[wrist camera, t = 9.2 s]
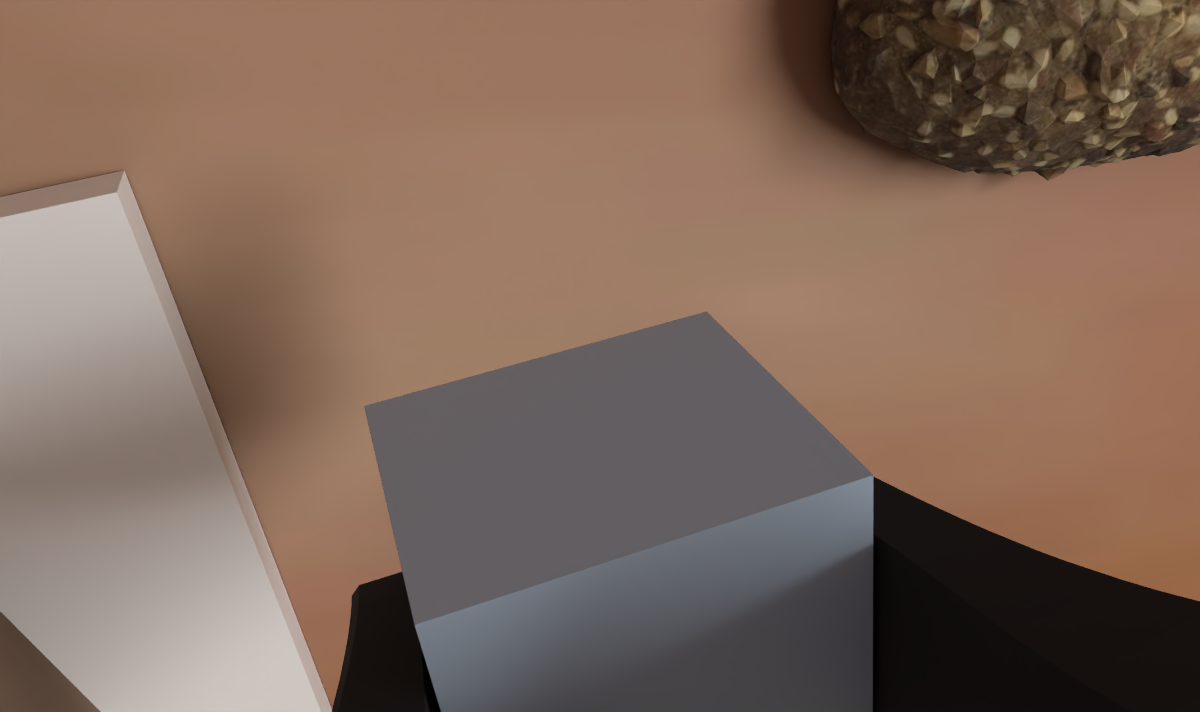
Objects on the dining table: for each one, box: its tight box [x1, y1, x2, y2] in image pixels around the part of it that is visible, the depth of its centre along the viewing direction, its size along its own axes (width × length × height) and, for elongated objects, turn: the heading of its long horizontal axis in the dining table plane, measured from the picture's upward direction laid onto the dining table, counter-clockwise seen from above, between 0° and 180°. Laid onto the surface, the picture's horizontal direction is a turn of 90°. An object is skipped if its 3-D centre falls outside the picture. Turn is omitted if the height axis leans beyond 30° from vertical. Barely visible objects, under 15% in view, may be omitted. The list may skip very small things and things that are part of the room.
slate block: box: [364, 312, 873, 712], centre depth 12 cm, size 4×4×4 cm
